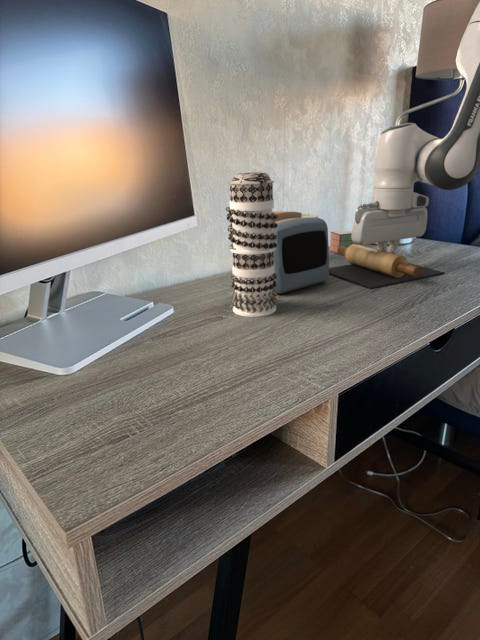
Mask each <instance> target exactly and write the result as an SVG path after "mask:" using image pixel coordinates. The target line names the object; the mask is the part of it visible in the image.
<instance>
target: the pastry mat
mask: <svg viewBox="0 0 480 640" xmlns="http://www.w3.org/2000/svg"><path fill="white" fill-rule="evenodd" d="M408 264H410V265H414V266H417V267H420V269H421V272H420V274H419V276H417V277H414V276H411V275H407V274H404V275H403V276H402V277H399V278H395V277H392V276H389V275H385V274H382V273H379V272H376V271H372V270H369V269H366V268H363V267H360V266H356V265H353V264H350V263H349V264H345V265H339V266H334V267H329V276H333V277H336V278H339V279H342V280H344V281H347V282H350V283H353V284H356V285H358V286H361V287H364V288H366V289H369V290H374V289H377V288H382V287H387V286H393V285H397V284H401V283H407V282H412V281H416V280H422V279H426V278H431V277H436V276H441V275H445V271H441V270H439V269H438V270H437V269H433V268H430V267H426V266H422V265H418V264H415V263H411V262H408Z"/></svg>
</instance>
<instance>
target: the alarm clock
mask: <svg viewBox="0 0 480 640" xmlns="http://www.w3.org/2000/svg"><path fill="white" fill-rule="evenodd" d="M272 213H275V214H276V215H277V216H278V217H277V219H275V220H272V223H274V222H275V223H276V224H277V225H278V226H277V227H276V228H275V229H274V228H272V234H273V233H274V234H275V235H277V238H276V239H274V240H272V243H273V242H274V243H276V244H277V247H276V250H274V251H273V263H274V273H276V279H274V281H276V287H274V289H275V290H276V291H277V293H276V294H277V295H278V294H286V293H289V292H294V291H296V290H297V291H298V290H300V289H304V288H309V287H312V286H314V285H318V284H319V285H320V284H322V283H325V282H326V281H327V280H328V279H329V276H330V274H329V268H330V244H329V228H328V225H327V222H326V221H325V219H323V218H320V217H318V218H302V214H303V213H302V212H300V211H272Z"/></svg>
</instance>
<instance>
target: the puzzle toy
mask: <svg viewBox="0 0 480 640" xmlns="http://www.w3.org/2000/svg"><path fill="white" fill-rule="evenodd" d="M351 236H352V230H350V229H342V230H341V229H340V230H332V231H330V240H329V241H330V242H329V243H330V244H329V251H330V252H332V253H335V254H338V253H337V250H338V248H339V247H341V246H342V247H346V248H348V247H349V246H350V245H353V244H355V243H353V241H352V239H351Z"/></svg>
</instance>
